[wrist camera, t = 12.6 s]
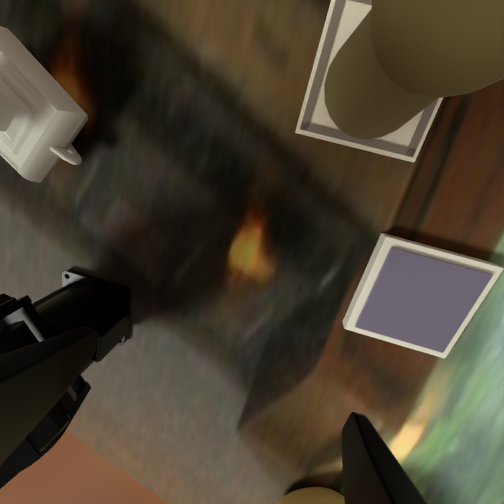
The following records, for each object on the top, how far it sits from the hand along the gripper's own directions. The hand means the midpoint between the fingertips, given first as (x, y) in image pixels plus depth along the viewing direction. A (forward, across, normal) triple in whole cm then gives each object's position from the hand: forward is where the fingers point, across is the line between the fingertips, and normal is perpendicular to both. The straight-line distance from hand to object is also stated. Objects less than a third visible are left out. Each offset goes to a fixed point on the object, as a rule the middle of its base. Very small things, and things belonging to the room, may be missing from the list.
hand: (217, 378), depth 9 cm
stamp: (+13, +18, -6) cm, 23 cm away
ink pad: (+13, -12, 0) cm, 18 cm away
